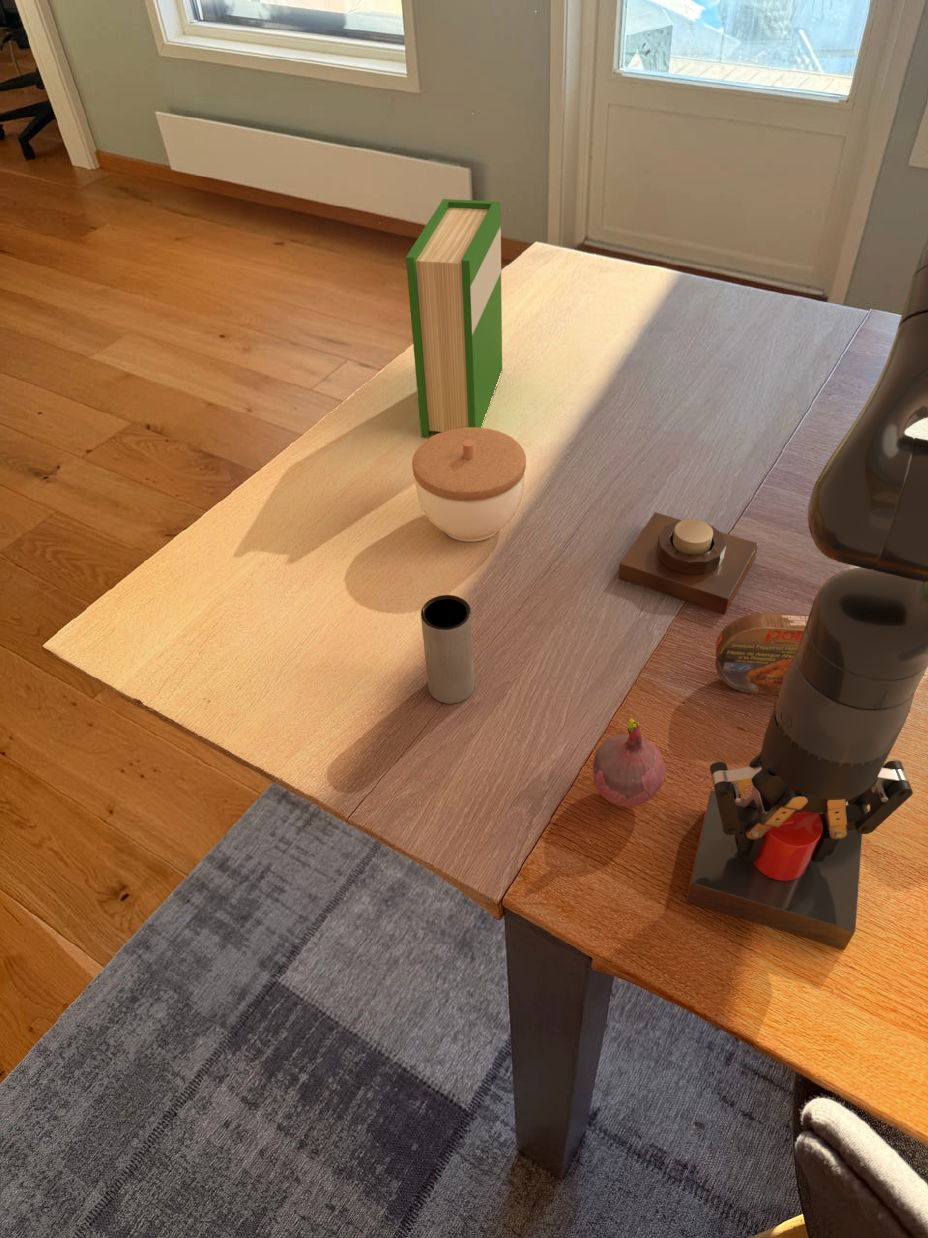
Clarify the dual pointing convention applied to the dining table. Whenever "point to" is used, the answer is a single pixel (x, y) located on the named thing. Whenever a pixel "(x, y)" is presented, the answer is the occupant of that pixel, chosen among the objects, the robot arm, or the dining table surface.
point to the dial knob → (790, 846)
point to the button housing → (688, 565)
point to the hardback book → (456, 313)
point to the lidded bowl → (469, 481)
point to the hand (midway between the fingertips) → (780, 851)
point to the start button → (692, 537)
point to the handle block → (778, 886)
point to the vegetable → (628, 768)
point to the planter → (448, 648)
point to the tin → (758, 651)
